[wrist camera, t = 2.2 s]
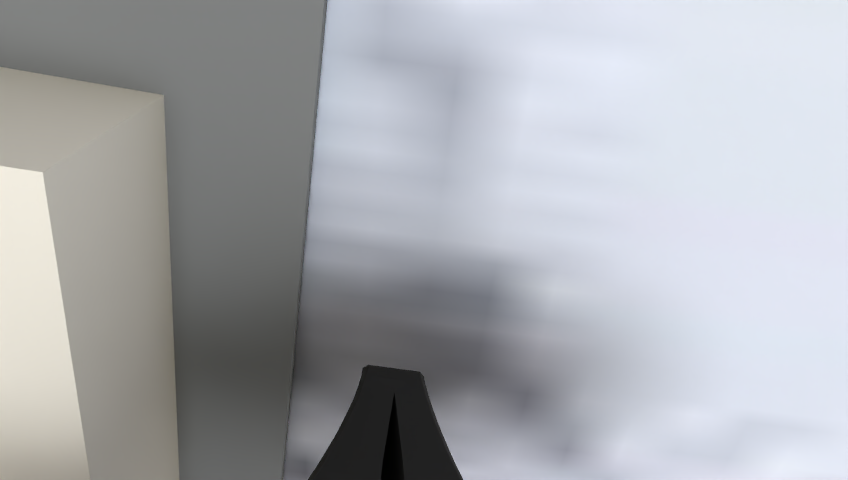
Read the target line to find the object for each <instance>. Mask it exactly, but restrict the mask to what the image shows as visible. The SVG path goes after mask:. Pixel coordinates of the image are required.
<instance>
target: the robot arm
mask: <svg viewBox="0 0 848 480" xmlns="http://www.w3.org/2000/svg"><path fill="white" fill-rule="evenodd" d="M308 480H463V478H462V476H461V474H460V472H459V470H458V468H457V466H456V464H455V462H454V460H453V458H452V456H451V453H450V451H449V449H448V446H447V444H446V442H445V439H444V437H443V434H442V432H441V430H440V427H439V425H438V422H437V419H436V417H435V414H434V411H433V408H432V405H431V402H430V399H429V396H428V392H427V389H426V385H425V381H424V376H423V375H422V374H421V373H420V372H417V371H409V370H402V369H394V368H387V367H379V366H372V365H368V366H366V367H364V368H363V370H362V376H361V379H360V383H359V386H358V389H357V391H356V394H355V397H354V399H353V401H352V403H351V406H350V408H349V410H348V412H347V414H346V416H345V418H344V420H343V422H342V424H341V426H340V428H339V430H338V432H337V434H336V435H335V437H334V439H333V441H332V442H331V444H330V446H329V447H328V449H327V451H326V452H325V454H324V456H323V457H322V459H321V461H320V462H319V464H318V465H317V467H316V468H315V470H314V471H313V473H312V474H311V476H310V477H309V479H308Z"/></svg>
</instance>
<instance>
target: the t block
mask: <svg viewBox="0 0 848 480" xmlns="http://www.w3.org/2000/svg"><path fill="white" fill-rule="evenodd" d="M0 480H179V457H178V433H177V408H176V383H175V359H174V334H173V309H172V285H171V260H170V235H169V211H168V186H167V161H166V137H165V112H164V95H160V94H155V93H149V92H143V91H137V90H131V89H126V88H120V87H114V86H108V85H103V84H97V83H91V82H85V81H79V80H74V79H68V78H62V77H56V76H51V75H45V74H39V73H33V72H27V71H22V70H16V69H10V68H4V67H0Z"/></svg>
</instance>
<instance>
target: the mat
mask: <svg viewBox="0 0 848 480" xmlns="http://www.w3.org/2000/svg"><path fill="white" fill-rule="evenodd" d="M326 7H327V0H0V67H4V68H10V69H16V70H22V71H27V72H33V73H39V74H45V75H51V76H56V77H62V78H68V79H74V80H79V81H85V82H91V83H97V84H103V85H108V86H114V87H120V88H126V89H131V90H137V91H143V92H149V93H155V94H160V95H164V112H165V137H166V161H167V186H168V211H169V235H170V260H171V285H172V309H173V334H174V359H175V383H176V408H177V433H178V457H179V480H283V472H284V461H285V451H286V440H287V429H288V418H289V407H290V397H291V386H292V375H293V364H294V353H295V342H296V332H297V321H298V310H299V299H300V288H301V278H302V267H303V256H304V245H305V234H306V224H307V213H308V202H309V191H310V180H311V170H312V159H313V148H314V137H315V126H316V116H317V105H318V94H319V83H320V72H321V61H322V51H323V40H324V29H325V18H326Z"/></svg>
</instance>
